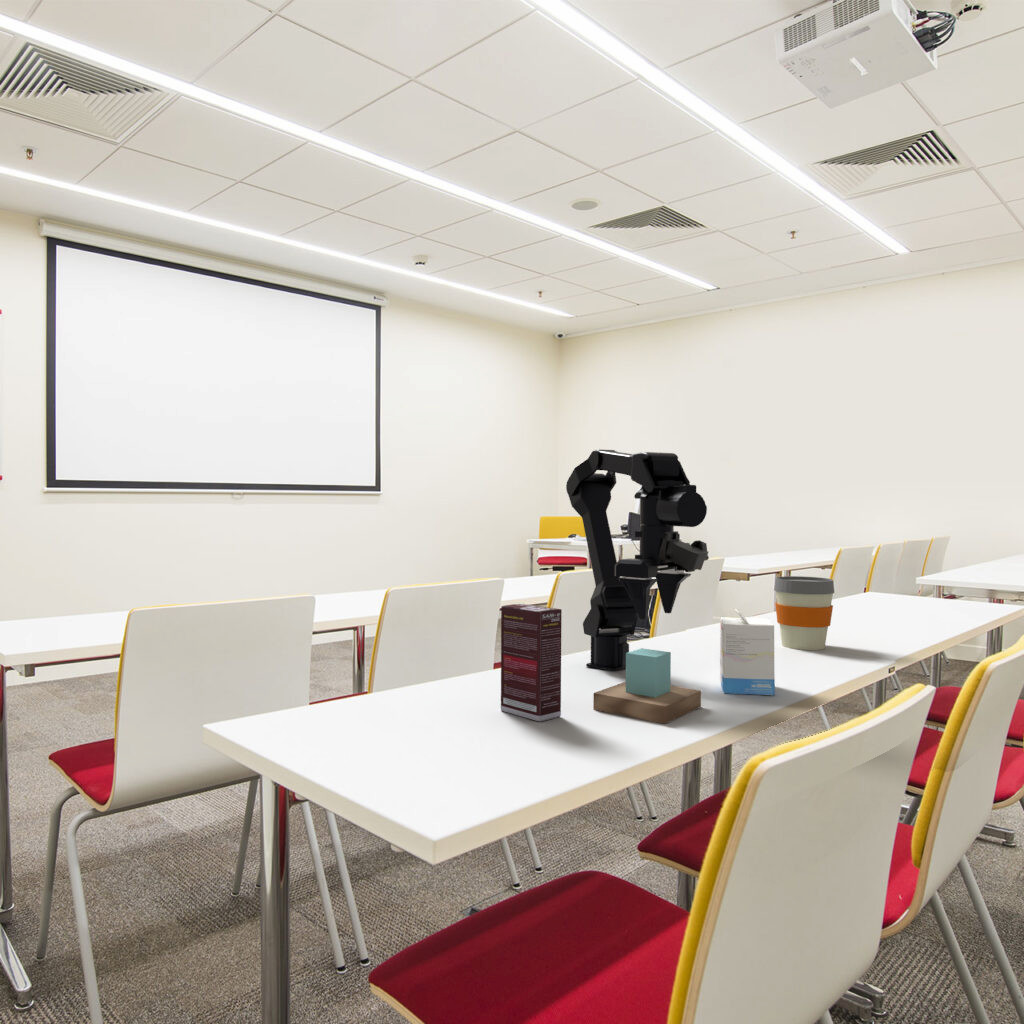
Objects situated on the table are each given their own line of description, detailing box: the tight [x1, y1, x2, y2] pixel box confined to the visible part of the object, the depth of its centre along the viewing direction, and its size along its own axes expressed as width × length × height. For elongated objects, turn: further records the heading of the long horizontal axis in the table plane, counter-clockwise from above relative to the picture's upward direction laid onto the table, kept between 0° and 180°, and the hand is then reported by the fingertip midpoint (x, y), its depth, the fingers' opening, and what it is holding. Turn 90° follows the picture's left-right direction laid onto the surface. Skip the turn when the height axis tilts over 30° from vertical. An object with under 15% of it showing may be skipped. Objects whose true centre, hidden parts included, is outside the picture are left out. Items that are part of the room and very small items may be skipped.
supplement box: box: [500, 603, 562, 722], centre depth 114 cm, size 9×5×16 cm, turn 43°
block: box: [625, 648, 672, 697], centre depth 118 cm, size 5×5×6 cm
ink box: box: [719, 607, 776, 696], centre depth 131 cm, size 9×8×13 cm
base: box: [592, 681, 702, 725], centre depth 118 cm, size 12×12×2 cm
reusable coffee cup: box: [773, 575, 835, 651], centre depth 171 cm, size 13×13×15 cm
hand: (655, 616), depth 132 cm, fingers open, 9 cm apart
